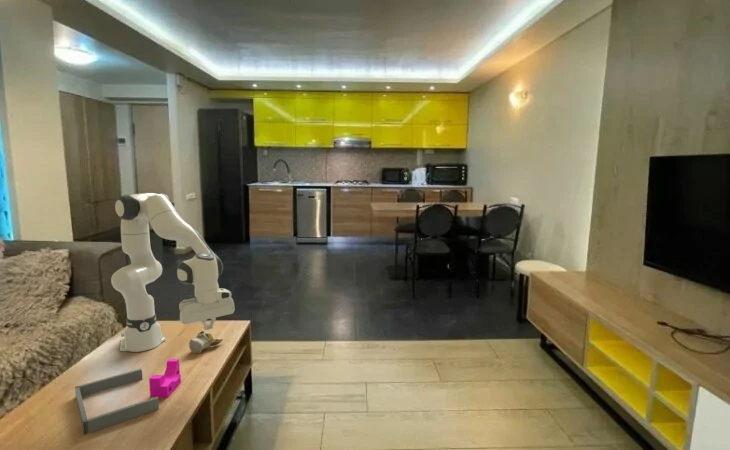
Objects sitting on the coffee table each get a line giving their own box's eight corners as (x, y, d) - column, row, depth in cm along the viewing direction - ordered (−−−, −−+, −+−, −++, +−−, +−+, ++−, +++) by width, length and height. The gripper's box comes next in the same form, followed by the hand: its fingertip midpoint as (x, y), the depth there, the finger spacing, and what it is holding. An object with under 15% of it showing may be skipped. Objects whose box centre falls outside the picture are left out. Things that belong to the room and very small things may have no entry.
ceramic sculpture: (181, 334, 180) (205, 324, 194) (181, 353, 180) (205, 341, 194) (200, 338, 176) (224, 327, 190) (200, 357, 177) (223, 345, 191)
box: (75, 397, 146) (74, 386, 146) (141, 377, 160) (141, 368, 159) (84, 434, 126) (83, 422, 126) (158, 409, 140) (158, 398, 139)
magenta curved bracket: (167, 398, 147) (166, 378, 145) (150, 398, 147) (149, 378, 145) (186, 376, 161) (185, 359, 160) (170, 376, 161) (169, 358, 160)
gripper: (181, 302, 149) (183, 338, 151) (235, 292, 162) (236, 325, 164) (176, 298, 154) (178, 333, 156) (229, 288, 167) (230, 320, 169)
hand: (208, 329), depth 160 cm, fingers closed
